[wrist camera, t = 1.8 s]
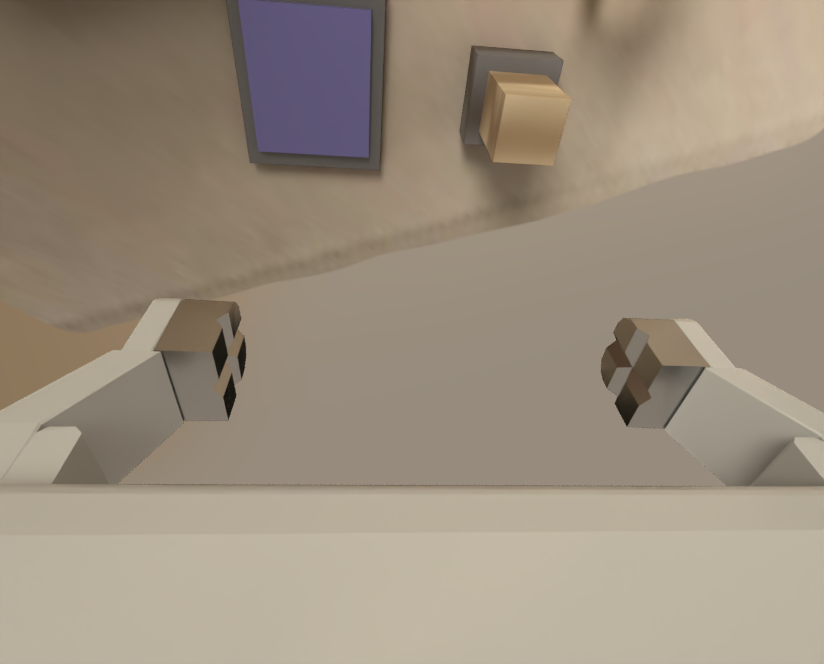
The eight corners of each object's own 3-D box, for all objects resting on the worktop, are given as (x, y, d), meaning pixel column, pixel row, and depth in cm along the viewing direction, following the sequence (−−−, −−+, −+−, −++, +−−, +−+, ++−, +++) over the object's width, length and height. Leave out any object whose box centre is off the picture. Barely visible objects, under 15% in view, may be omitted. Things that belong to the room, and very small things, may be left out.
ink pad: (226, -29, 25) (219, -26, 24) (385, -14, 26) (386, -11, 25) (253, 157, 32) (248, 166, 31) (379, 164, 33) (379, 173, 32)
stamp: (471, 45, 28) (493, 76, 23) (552, 52, 29) (592, 83, 23) (459, 131, 32) (476, 175, 26) (532, 135, 32) (562, 180, 27)
